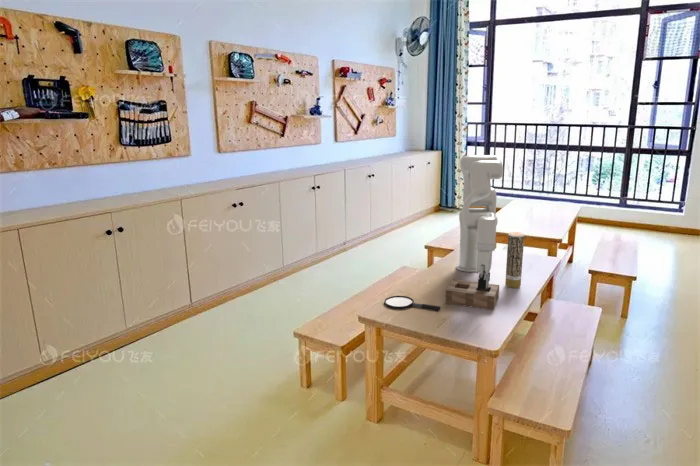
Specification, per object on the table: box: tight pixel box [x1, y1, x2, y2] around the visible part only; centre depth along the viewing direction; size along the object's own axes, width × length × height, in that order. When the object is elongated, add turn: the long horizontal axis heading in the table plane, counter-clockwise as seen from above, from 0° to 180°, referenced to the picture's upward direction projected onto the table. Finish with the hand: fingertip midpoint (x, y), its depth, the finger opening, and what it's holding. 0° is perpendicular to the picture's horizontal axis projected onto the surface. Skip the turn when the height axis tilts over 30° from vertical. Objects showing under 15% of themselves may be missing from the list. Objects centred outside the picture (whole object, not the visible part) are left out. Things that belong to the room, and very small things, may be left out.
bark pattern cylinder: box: [504, 231, 525, 289], centre depth 222 cm, size 7×7×25 cm
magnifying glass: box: [384, 295, 441, 312], centre depth 205 cm, size 12×24×2 cm, turn 63°
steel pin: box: [479, 272, 490, 292], centre depth 206 cm, size 4×4×12 cm
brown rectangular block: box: [445, 278, 500, 311], centre depth 209 cm, size 14×20×6 cm
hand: (483, 284), depth 206 cm, fingers open, 9 cm apart
